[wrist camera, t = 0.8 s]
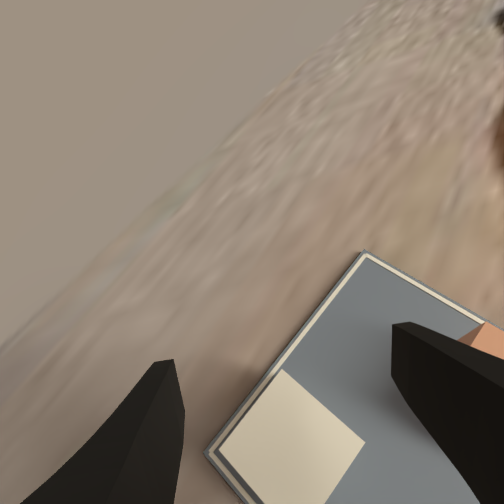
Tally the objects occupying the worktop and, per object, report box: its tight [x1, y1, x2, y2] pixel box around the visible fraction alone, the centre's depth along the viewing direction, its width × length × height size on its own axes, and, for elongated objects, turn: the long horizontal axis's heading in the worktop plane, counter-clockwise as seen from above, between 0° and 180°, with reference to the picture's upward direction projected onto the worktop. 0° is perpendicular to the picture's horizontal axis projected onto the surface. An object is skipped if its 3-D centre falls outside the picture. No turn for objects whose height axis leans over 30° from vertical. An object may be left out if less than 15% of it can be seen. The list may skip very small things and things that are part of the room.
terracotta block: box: [457, 321, 504, 359], centre depth 19 cm, size 5×5×5 cm
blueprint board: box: [203, 249, 504, 504], centre depth 20 cm, size 15×20×5 cm
